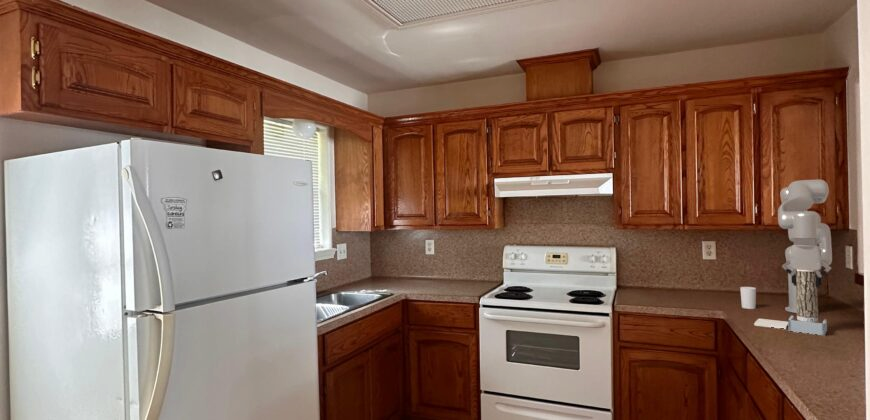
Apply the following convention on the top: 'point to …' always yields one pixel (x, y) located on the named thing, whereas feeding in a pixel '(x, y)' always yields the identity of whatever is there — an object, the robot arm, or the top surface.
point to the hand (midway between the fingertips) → (806, 285)
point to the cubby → (807, 326)
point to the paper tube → (806, 296)
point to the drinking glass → (748, 297)
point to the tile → (771, 323)
